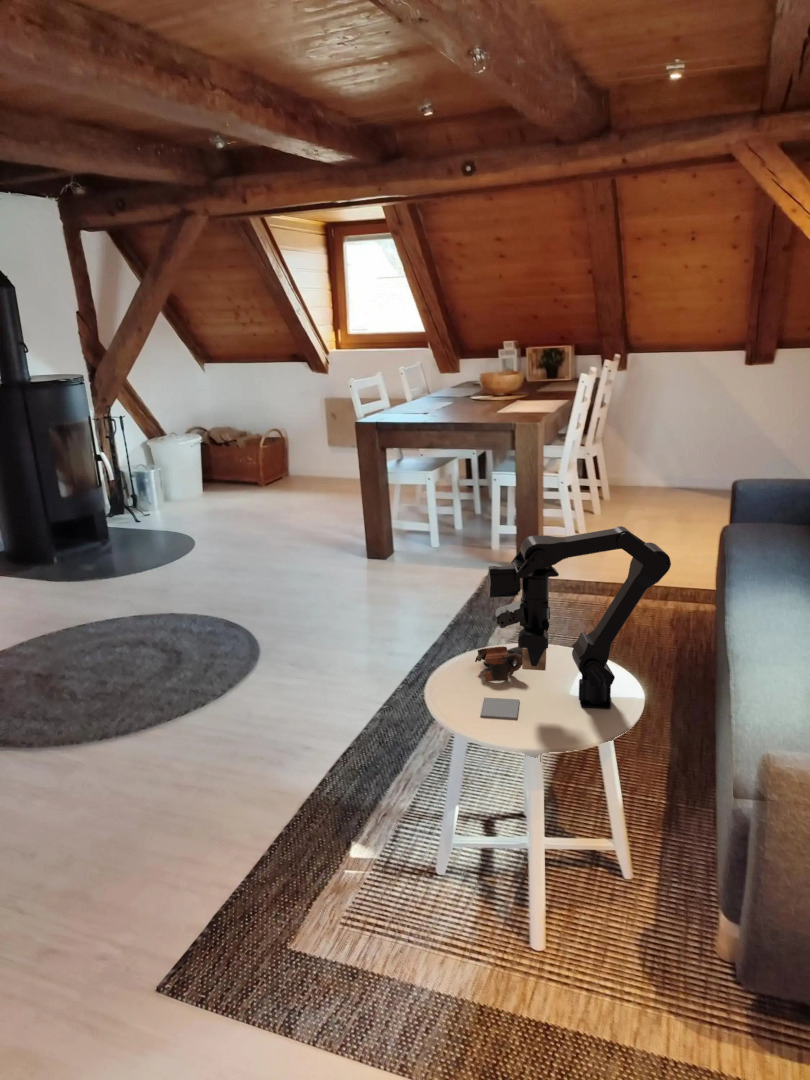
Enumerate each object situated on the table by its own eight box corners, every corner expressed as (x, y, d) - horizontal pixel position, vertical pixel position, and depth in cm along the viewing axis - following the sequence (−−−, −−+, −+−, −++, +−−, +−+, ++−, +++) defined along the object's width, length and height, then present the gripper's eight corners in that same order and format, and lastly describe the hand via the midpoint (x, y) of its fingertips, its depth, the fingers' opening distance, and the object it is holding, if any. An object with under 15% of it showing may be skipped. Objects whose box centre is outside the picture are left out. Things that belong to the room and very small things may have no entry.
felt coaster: (519, 701, 177) (519, 699, 177) (516, 719, 169) (516, 717, 169) (484, 698, 178) (484, 697, 178) (480, 716, 171) (480, 715, 171)
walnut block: (546, 660, 174) (546, 639, 172) (545, 670, 169) (545, 649, 168) (523, 659, 175) (523, 638, 173) (522, 669, 170) (522, 648, 169)
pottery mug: (472, 684, 187) (468, 649, 189) (485, 683, 195) (481, 651, 197) (520, 678, 182) (516, 643, 184) (531, 678, 190) (527, 644, 192)
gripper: (501, 578, 177) (501, 640, 182) (493, 610, 160) (494, 678, 165) (550, 580, 175) (549, 643, 180) (548, 612, 158) (547, 681, 162)
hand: (534, 660), depth 172 cm, fingers closed on walnut block, 5 cm apart
